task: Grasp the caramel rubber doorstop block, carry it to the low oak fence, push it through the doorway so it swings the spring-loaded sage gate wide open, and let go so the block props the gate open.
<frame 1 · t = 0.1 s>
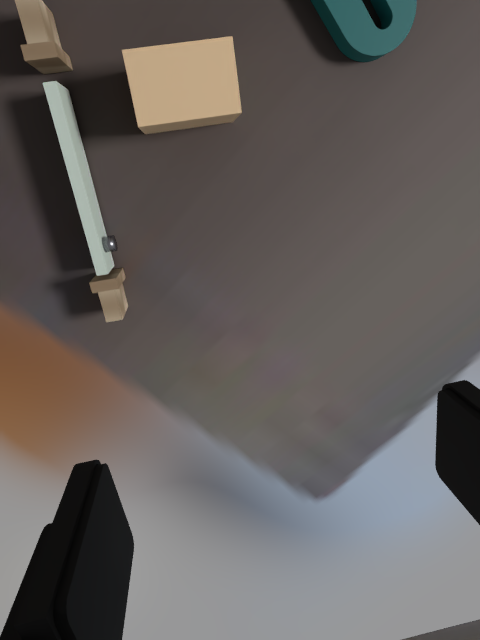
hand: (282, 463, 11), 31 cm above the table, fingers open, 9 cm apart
sage gate: (88, 185, 34), point 2 cm above the table, hinge at 0.0°
doorstop block: (184, 97, 35), on the table
oak fence: (85, 173, 36), on the table
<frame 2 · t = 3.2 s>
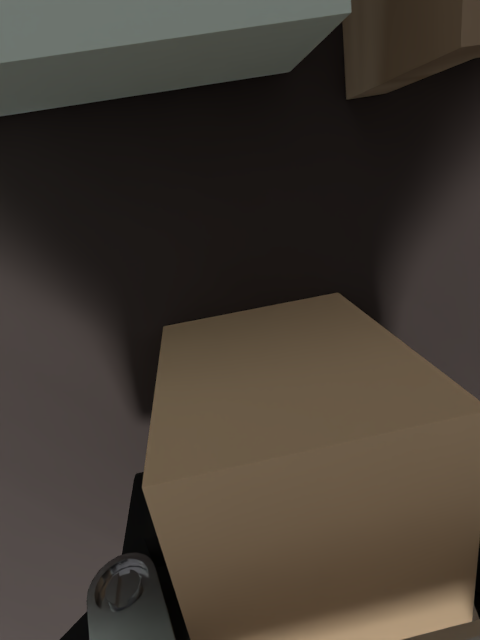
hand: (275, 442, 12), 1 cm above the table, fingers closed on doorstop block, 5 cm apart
doorstop block: (270, 426, 12), on the table, touching gripper
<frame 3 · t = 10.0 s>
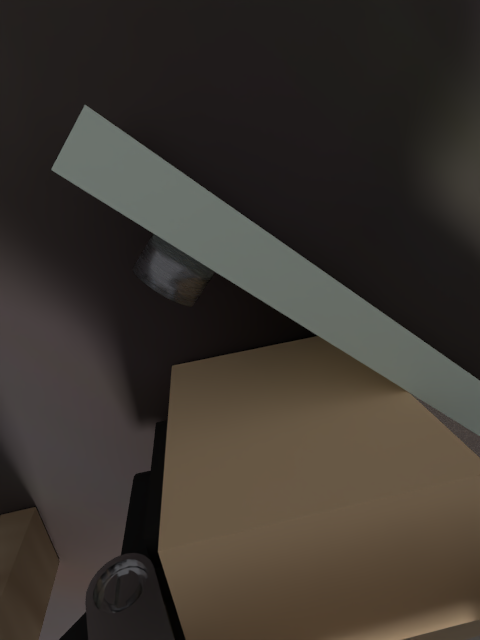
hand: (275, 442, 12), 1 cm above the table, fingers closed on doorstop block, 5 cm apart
sage gate: (370, 356, 10), point 2 cm above the table, hinge at -42.0°, touching gripper
doorstop block: (276, 460, 13), on the table, touching gripper
oak fence: (320, 469, 13), on the table
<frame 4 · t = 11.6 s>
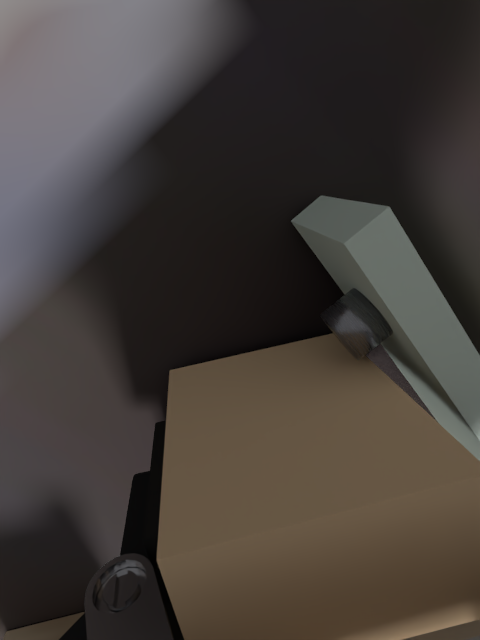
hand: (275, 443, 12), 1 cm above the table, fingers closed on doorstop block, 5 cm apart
sage gate: (458, 434, 11), point 2 cm above the table, hinge at -59.5°, touching gripper
doorstop block: (276, 462, 13), point 1 cm above the table, touching gripper
oak fence: (351, 557, 16), on the table
when the fingers open (1 cm above the table, at t = 12.6 s): doorstop block stays where it is, on the table.
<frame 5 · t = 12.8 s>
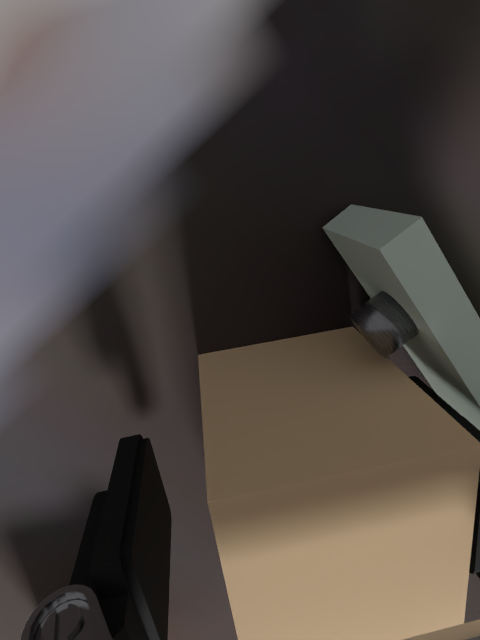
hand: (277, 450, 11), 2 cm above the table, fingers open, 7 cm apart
sage gate: (476, 431, 12), point 2 cm above the table, hinge at -60.2°, touching gripper
doorstop block: (287, 441, 14), on the table
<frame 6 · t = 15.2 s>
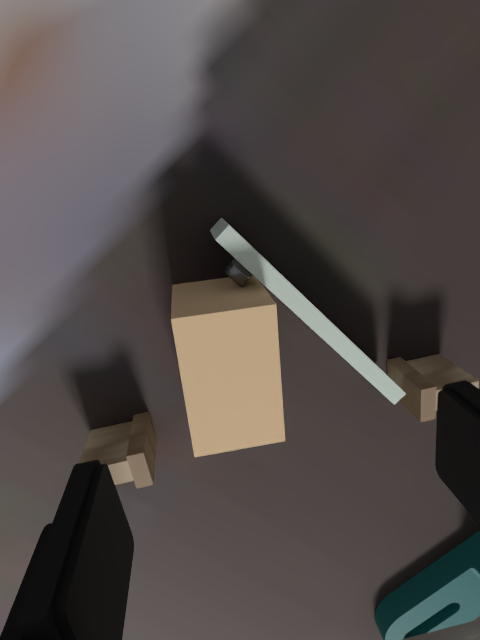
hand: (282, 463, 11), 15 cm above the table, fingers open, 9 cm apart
sage gate: (305, 321, 24), point 2 cm above the table, hinge at -52.6°, touching doorstop block
doorstop block: (220, 338, 25), on the table, touching sage gate
bracket: (451, 571, 38), on the table
oak fence: (279, 398, 28), on the table
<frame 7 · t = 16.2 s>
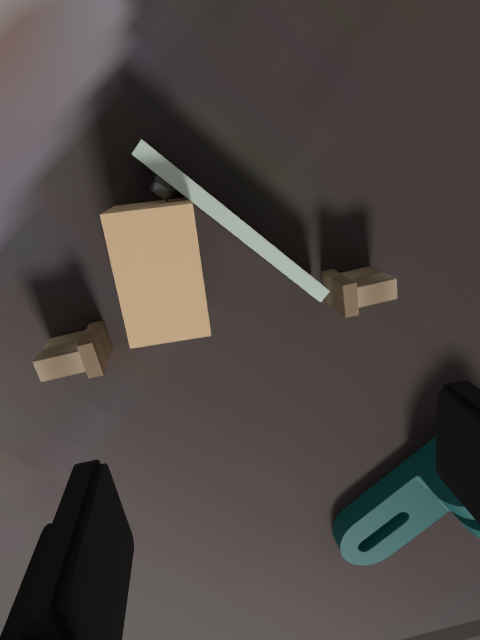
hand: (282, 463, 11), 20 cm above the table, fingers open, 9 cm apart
sage gate: (231, 232, 26), point 2 cm above the table, hinge at -48.8°, touching doorstop block
doorstop block: (162, 258, 28), on the table, touching sage gate
bracket: (403, 487, 41), on the table
oak fence: (223, 308, 30), on the table
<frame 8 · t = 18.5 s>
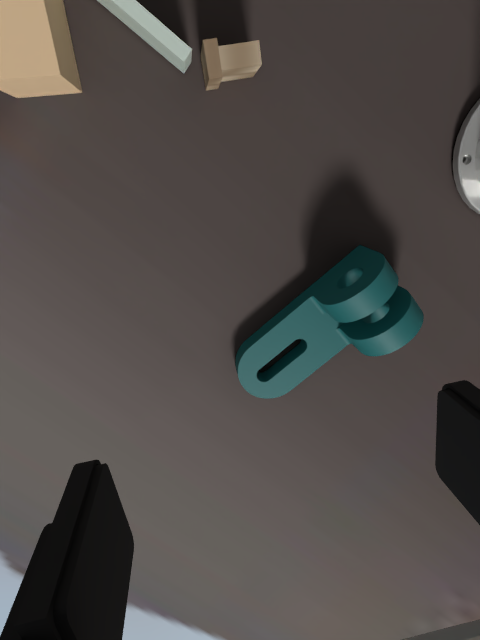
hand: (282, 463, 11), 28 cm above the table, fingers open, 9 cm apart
doorstop block: (35, 35, 30), on the table, touching sage gate
bracket: (307, 325, 41), on the table
oak fence: (104, 88, 31), on the table
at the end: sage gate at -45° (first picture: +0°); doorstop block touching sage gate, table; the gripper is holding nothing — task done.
